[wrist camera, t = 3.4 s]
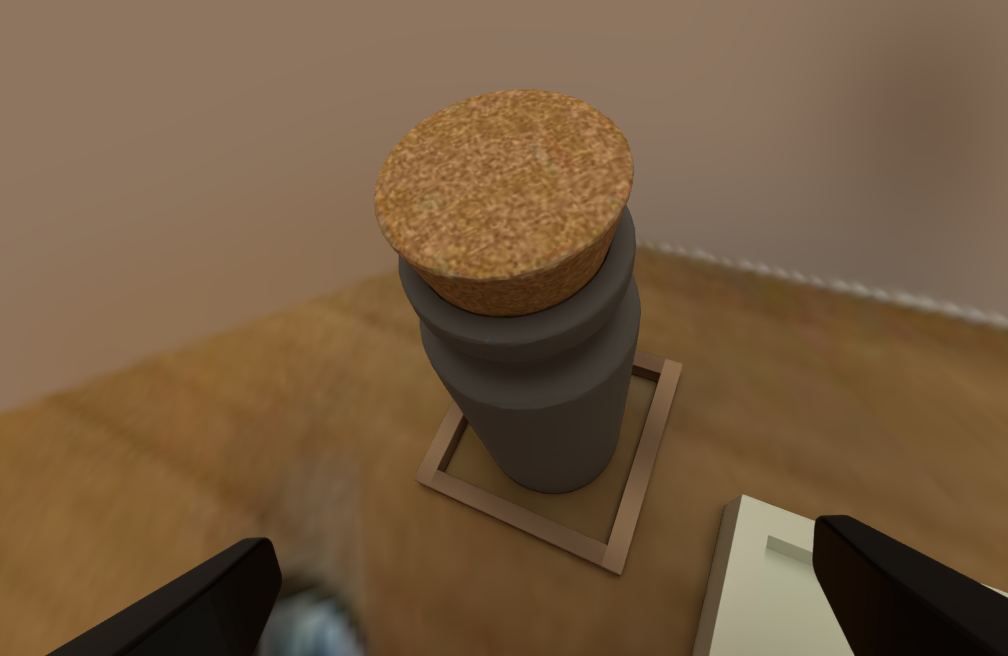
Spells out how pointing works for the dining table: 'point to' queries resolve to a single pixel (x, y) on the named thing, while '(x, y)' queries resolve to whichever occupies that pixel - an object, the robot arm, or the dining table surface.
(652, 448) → the seat frame
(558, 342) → the bottle
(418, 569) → the dining table surface
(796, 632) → the tray
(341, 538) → the dining table surface
